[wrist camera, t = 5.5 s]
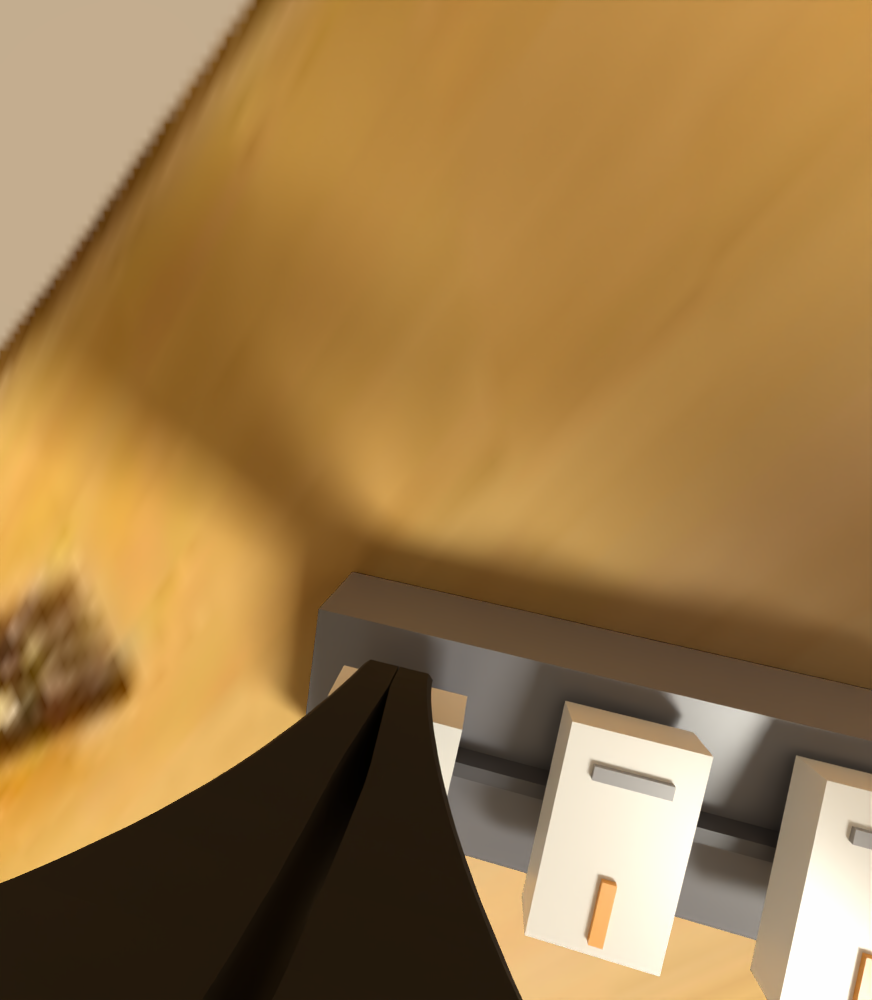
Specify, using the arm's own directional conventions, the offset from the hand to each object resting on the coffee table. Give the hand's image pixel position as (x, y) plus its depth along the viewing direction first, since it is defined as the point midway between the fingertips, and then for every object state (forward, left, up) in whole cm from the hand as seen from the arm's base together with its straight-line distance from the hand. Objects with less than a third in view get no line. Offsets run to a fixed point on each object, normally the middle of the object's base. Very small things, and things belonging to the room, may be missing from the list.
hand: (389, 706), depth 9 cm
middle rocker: (-4, -3, -1) cm, 6 cm away
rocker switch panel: (-4, -3, -4) cm, 7 cm away
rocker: (-7, -8, -1) cm, 10 cm away
